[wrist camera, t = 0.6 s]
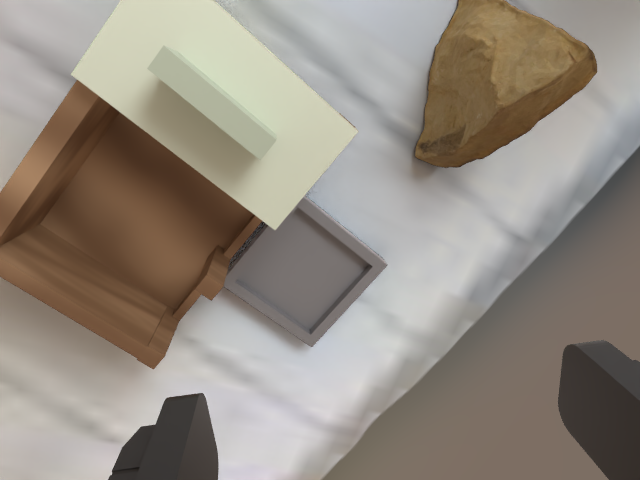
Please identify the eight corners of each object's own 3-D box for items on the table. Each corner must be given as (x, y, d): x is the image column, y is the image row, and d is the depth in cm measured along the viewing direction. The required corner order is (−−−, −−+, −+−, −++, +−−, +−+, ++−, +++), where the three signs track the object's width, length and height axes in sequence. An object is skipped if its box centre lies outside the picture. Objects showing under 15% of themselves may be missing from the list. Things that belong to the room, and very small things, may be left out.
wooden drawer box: (191, -11, 28) (163, -47, 21) (337, 120, 31) (356, 128, 24) (30, 217, 31) (-42, 253, 24) (177, 313, 35) (153, 369, 28)
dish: (295, 187, 32) (296, 191, 31) (383, 258, 35) (387, 265, 34) (221, 276, 34) (219, 283, 33) (310, 338, 36) (311, 347, 35)
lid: (160, -47, 20) (136, -77, 17) (355, 130, 24) (370, 136, 20) (77, 75, 22) (38, 71, 18) (275, 226, 25) (275, 248, 22)
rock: (460, 211, 32) (584, 115, 29) (442, 188, 24) (609, 55, 21) (374, 108, 35) (478, 15, 33) (334, 59, 28) (466, -69, 25)
